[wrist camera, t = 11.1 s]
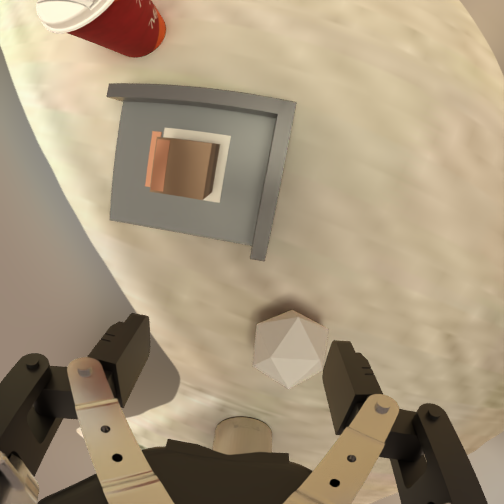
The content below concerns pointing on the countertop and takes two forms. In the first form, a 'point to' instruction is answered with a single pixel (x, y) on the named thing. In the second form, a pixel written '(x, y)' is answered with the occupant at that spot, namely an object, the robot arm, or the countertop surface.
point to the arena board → (228, 164)
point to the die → (290, 348)
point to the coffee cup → (107, 23)
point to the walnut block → (184, 167)
